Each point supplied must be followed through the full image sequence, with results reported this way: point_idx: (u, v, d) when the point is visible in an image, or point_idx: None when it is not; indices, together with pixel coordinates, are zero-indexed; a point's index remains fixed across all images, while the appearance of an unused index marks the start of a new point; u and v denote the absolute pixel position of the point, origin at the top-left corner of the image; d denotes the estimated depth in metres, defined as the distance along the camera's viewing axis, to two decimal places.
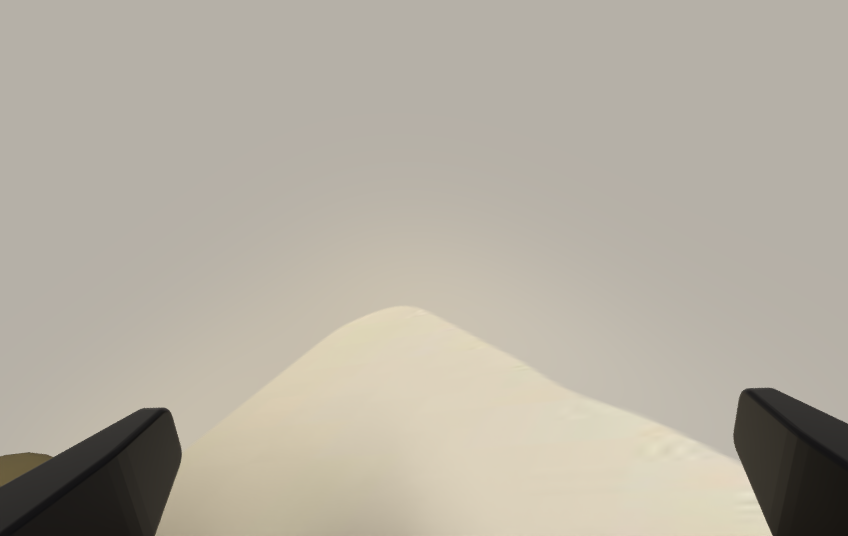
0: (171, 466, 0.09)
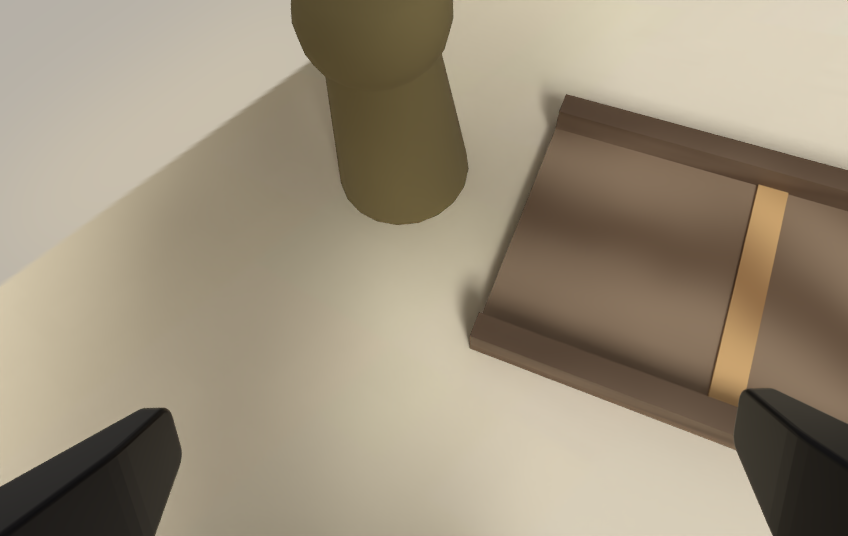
0: (171, 466, 0.09)
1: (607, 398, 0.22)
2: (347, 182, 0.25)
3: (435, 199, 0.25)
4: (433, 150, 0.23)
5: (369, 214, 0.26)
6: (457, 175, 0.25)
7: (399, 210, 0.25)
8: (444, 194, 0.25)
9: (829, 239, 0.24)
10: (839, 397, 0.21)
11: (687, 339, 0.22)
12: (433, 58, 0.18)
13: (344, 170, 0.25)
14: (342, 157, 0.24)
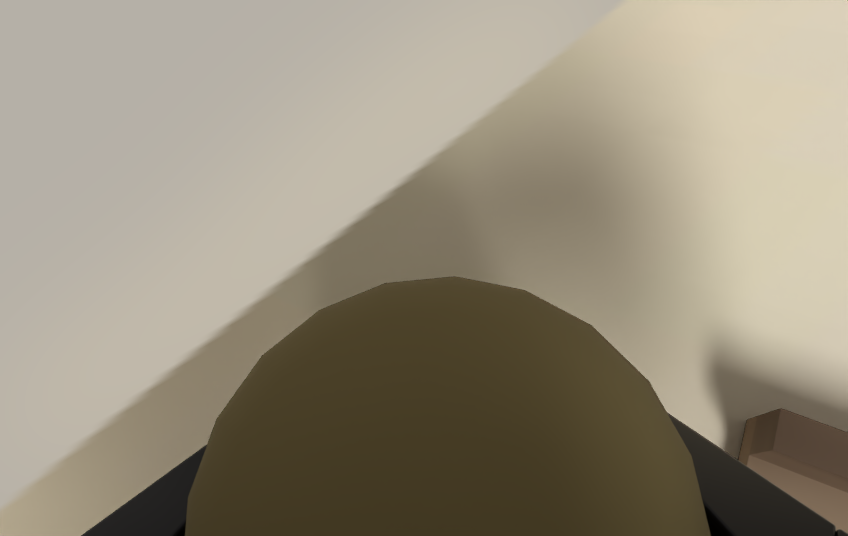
0: None
1: None
2: None
3: None
4: None
5: None
6: None
7: None
8: None
9: None
10: None
11: None
12: None
13: None
14: None
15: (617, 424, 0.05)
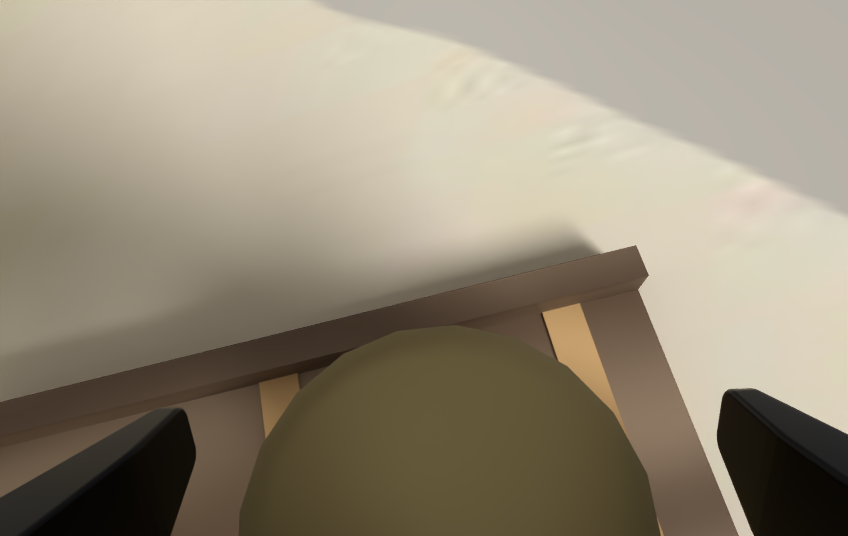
0: (186, 466, 0.09)
1: None
2: None
3: None
4: None
5: None
6: None
7: None
8: None
9: None
10: None
11: None
12: None
13: None
14: None
15: (584, 451, 0.06)
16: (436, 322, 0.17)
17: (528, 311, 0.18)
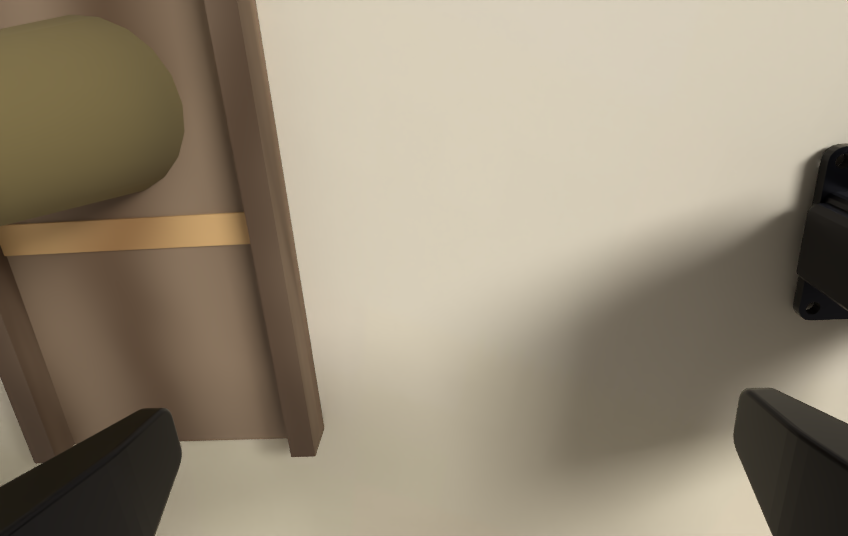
0: (171, 466, 0.09)
1: (303, 317, 0.23)
2: (124, 193, 0.19)
3: (150, 77, 0.18)
4: (79, 79, 0.16)
5: (168, 166, 0.20)
6: (112, 38, 0.18)
7: (166, 129, 0.19)
8: (142, 63, 0.18)
9: None
10: None
11: (209, 273, 0.22)
12: None
13: (108, 198, 0.19)
14: (90, 202, 0.18)
15: None
16: None
17: None
